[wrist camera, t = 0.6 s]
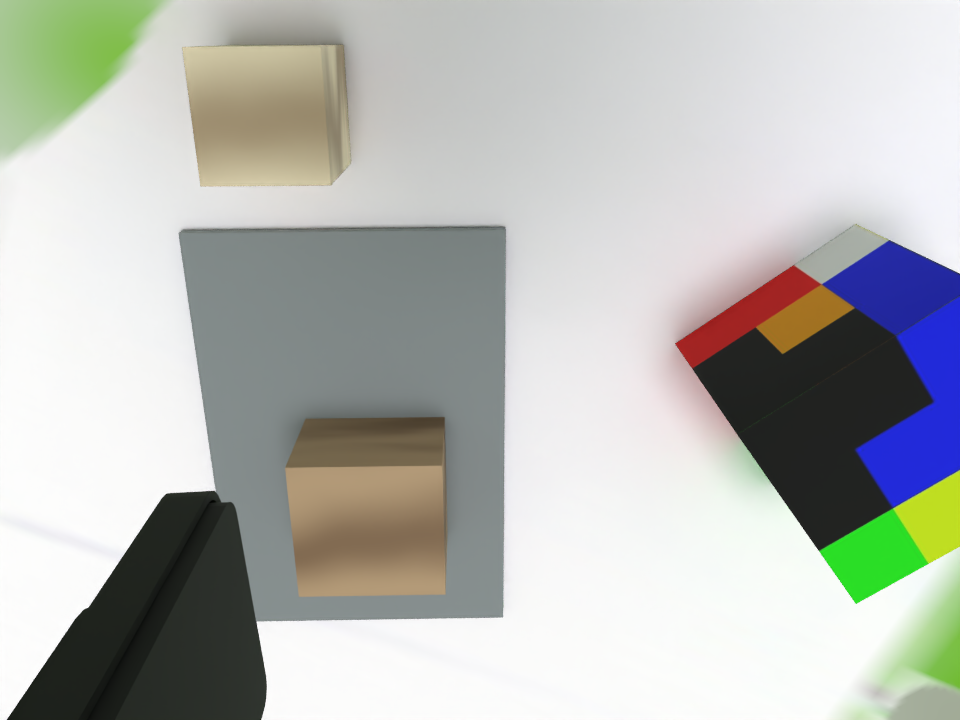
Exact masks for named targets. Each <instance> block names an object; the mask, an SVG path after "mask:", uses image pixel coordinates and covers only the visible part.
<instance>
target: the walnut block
mask: <svg viewBox="0 0 960 720" xmlns="http://www.w3.org/2000/svg"><path fill="white" fill-rule="evenodd" d="M285 472H286V481H287V491H288V500H289V509H290V519H291V528H292V537H293V547H294V556H295V566H296V575H297V584H298V594H299V597H317V596H382V595H446V567H447V537H448V532H447V489H446V446H445V417H403V418H322V419H305V421H304V424H303V426H302V428H301V431H300V433H299V436H298V438H297V440H296V443H295V445H294V447H293V450H292V452H291V455H290V457H289V459H288V462H287V464H286V467H285Z"/></svg>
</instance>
